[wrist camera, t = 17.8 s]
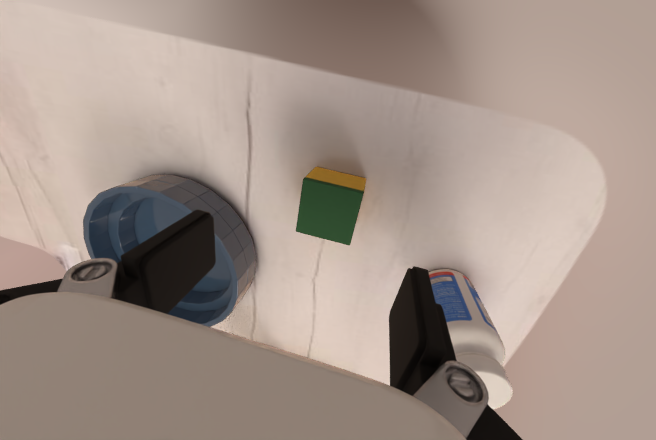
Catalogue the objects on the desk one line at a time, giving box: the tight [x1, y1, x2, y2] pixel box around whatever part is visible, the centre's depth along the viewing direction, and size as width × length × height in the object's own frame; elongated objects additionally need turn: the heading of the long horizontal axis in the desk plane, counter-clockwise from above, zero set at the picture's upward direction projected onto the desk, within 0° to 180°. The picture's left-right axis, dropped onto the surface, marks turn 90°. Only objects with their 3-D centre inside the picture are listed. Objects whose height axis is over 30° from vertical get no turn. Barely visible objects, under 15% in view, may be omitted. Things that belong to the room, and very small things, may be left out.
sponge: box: [296, 167, 366, 245], centre depth 21 cm, size 4×4×4 cm
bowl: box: [83, 174, 256, 327], centre depth 26 cm, size 16×16×4 cm
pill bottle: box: [429, 269, 513, 409], centre depth 20 cm, size 6×5×10 cm
